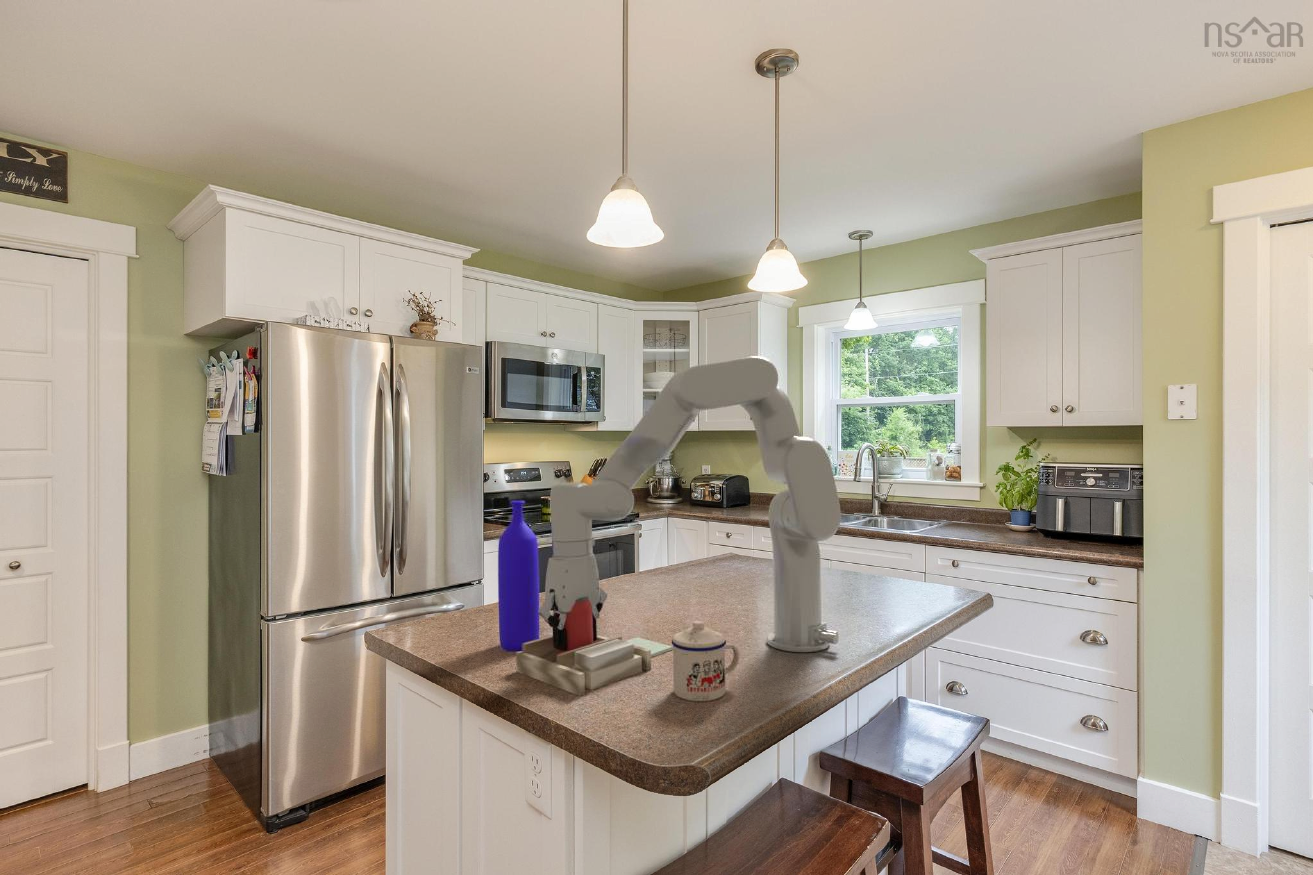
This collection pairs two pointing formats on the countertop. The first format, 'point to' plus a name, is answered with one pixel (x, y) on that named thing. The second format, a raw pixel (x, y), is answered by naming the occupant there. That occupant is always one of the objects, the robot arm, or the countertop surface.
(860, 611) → the countertop surface
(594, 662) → the offcut stack
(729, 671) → the teacup with lid
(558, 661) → the tray
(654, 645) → the mat
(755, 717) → the countertop surface
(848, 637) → the countertop surface
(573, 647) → the beer can
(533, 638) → the bottle
